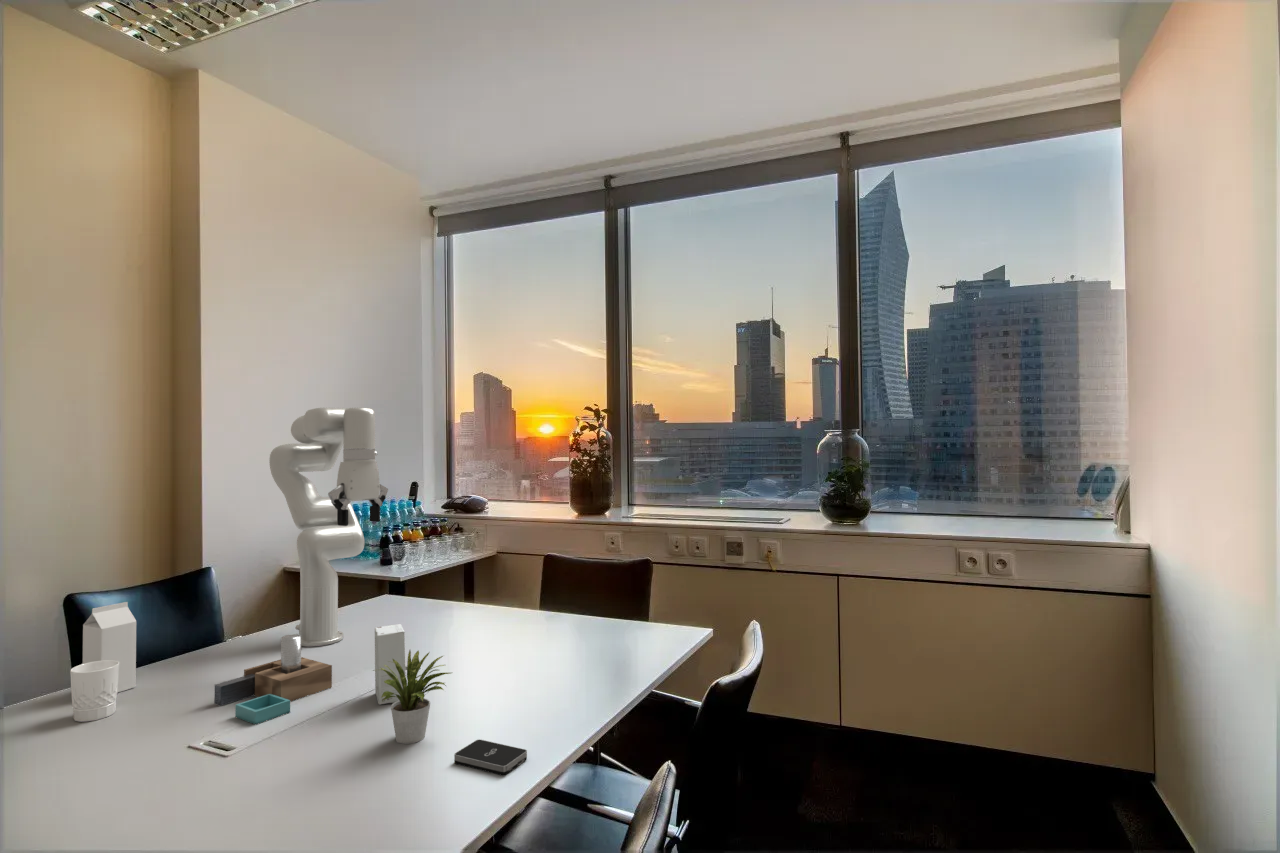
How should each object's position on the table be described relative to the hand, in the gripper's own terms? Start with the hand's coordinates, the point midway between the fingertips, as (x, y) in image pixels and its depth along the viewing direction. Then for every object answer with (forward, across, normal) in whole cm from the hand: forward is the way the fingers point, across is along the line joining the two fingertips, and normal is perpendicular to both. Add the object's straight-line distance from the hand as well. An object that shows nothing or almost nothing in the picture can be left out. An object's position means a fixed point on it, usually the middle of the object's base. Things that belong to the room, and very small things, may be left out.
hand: (359, 523), depth 178 cm
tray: (+35, +33, +12) cm, 50 cm away
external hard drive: (+36, +26, +66) cm, 80 cm away
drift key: (+35, +31, -1) cm, 46 cm away
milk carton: (+35, +41, -31) cm, 62 cm away
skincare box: (+35, +14, +27) cm, 46 cm away
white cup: (+35, +50, -18) cm, 63 cm away
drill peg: (+35, +22, +4) cm, 41 cm away
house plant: (+35, +28, +47) cm, 65 cm away
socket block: (+35, +22, +4) cm, 41 cm away
